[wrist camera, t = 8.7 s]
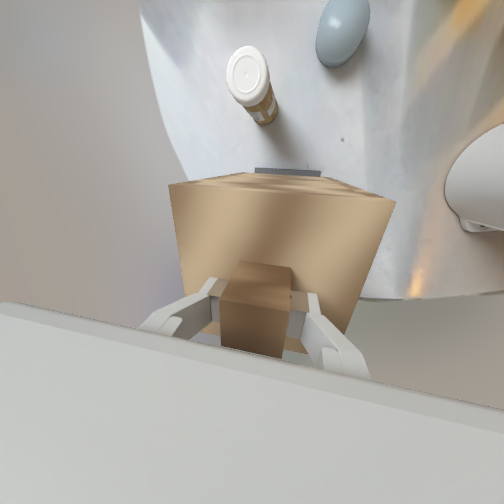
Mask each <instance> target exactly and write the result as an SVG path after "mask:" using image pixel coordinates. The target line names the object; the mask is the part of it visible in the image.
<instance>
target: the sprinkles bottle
mask: <svg viewBox="0 0 504 504" xmlns="http://www.w3.org/2000/svg"><path fill="white" fill-rule="evenodd" d="M226 80H227V85H228V88H229V91H230V93H231V94H232V96H233V97H234V98H235V100H236V101H237V102H238V103H239V104H241V105H242V106H243V107H244V108H245V110H246V111H247V112H248V113H249V114H250V115H251V117H252V118H253V119H254V121H255V122H256V123H258V124H260V125H266V124H269V123H271V122H272V120H273V119H274V117H275V116H276V113H277V102H276V99H275V96H274V93H273V90H272V86H271V82H270V75H269V70H268V66H267V63H266V60H265V58H264V56H263V54H262V53H261V52H260V51H259V50H258V49H257V48H255V47H252V46H244V47H241V48H239V49H238V50H237V51H236V52H235V53H234V54H233V55H232V57H231V58H230V60H229V63H228V66H227V72H226Z"/></svg>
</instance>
